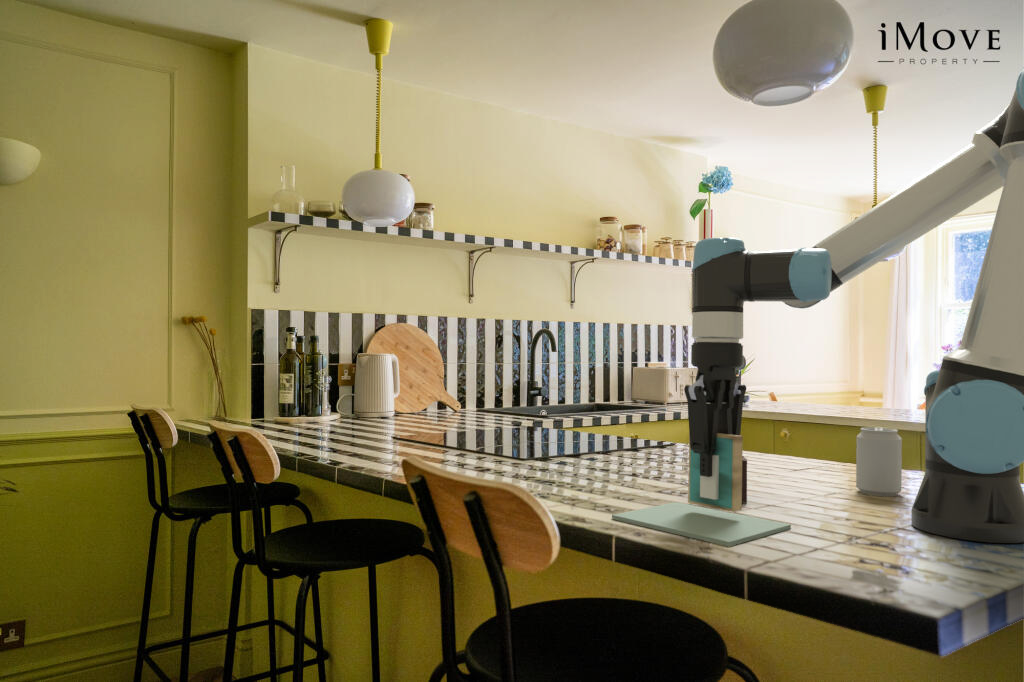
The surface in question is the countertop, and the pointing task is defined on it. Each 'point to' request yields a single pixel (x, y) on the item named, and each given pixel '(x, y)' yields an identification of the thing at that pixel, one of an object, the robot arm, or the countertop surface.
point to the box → (744, 480)
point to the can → (879, 461)
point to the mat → (702, 523)
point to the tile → (720, 474)
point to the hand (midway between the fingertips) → (714, 496)
